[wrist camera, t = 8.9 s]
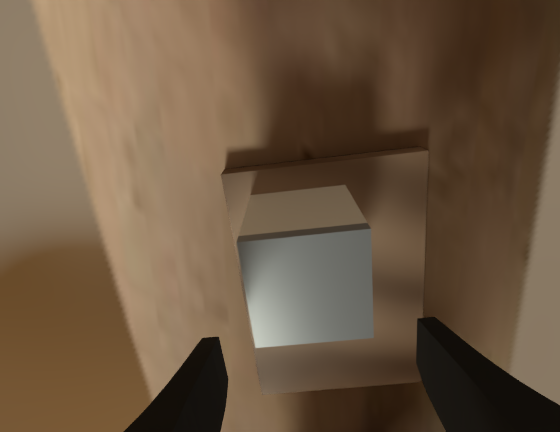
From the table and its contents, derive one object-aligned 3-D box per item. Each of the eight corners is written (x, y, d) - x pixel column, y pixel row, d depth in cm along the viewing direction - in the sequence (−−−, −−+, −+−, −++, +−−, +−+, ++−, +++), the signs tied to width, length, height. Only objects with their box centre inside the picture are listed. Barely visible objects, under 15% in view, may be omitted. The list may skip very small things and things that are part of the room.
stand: (414, 368, 25) (444, 434, 20) (263, 381, 26) (258, 448, 21) (420, 146, 19) (463, 167, 15) (224, 169, 20) (206, 196, 15)
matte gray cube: (349, 268, 21) (373, 337, 15) (263, 276, 21) (255, 348, 15) (345, 184, 19) (371, 228, 13) (250, 195, 19) (236, 242, 14)
